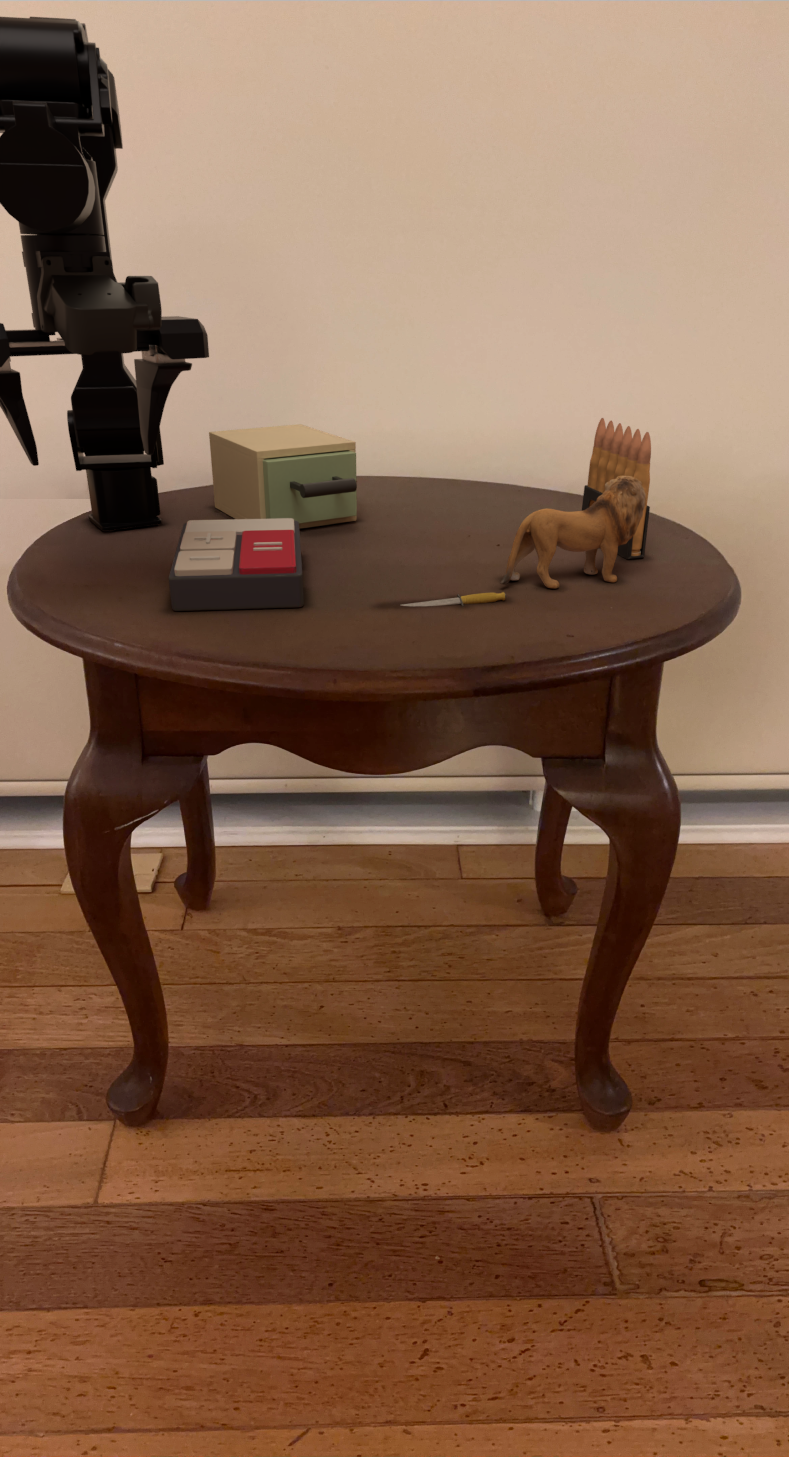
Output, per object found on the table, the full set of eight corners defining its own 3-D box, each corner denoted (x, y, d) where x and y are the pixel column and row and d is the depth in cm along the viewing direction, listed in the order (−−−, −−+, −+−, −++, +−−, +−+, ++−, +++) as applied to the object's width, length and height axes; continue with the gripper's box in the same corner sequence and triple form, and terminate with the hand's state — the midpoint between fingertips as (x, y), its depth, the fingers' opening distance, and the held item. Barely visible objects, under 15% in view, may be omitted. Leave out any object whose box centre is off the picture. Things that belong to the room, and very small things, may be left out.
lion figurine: (614, 562, 90) (625, 468, 86) (650, 577, 86) (664, 479, 82) (485, 582, 85) (490, 482, 81) (517, 599, 80) (524, 495, 76)
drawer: (375, 523, 99) (375, 459, 96) (287, 536, 95) (284, 468, 91) (307, 493, 112) (305, 434, 109) (226, 503, 107) (221, 442, 104)
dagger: (386, 609, 78) (382, 597, 79) (386, 619, 78) (382, 606, 80) (509, 597, 79) (502, 585, 81) (508, 606, 80) (502, 594, 81)
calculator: (166, 569, 75) (182, 514, 88) (172, 618, 77) (187, 557, 90) (302, 566, 76) (298, 511, 89) (304, 614, 78) (300, 554, 91)
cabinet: (356, 520, 104) (355, 441, 100) (261, 534, 99) (256, 451, 95) (303, 496, 114) (300, 423, 111) (214, 507, 109) (208, 431, 105)
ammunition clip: (644, 558, 92) (661, 432, 86) (628, 559, 91) (643, 433, 86) (593, 531, 101) (606, 415, 95) (578, 532, 100) (589, 416, 95)
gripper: (-62, 230, 56) (-12, 491, 63) (228, 235, 64) (243, 465, 71) (-86, 233, 64) (-40, 464, 71) (173, 238, 73) (192, 443, 80)
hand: (93, 459), depth 73 cm, fingers open, 9 cm apart
